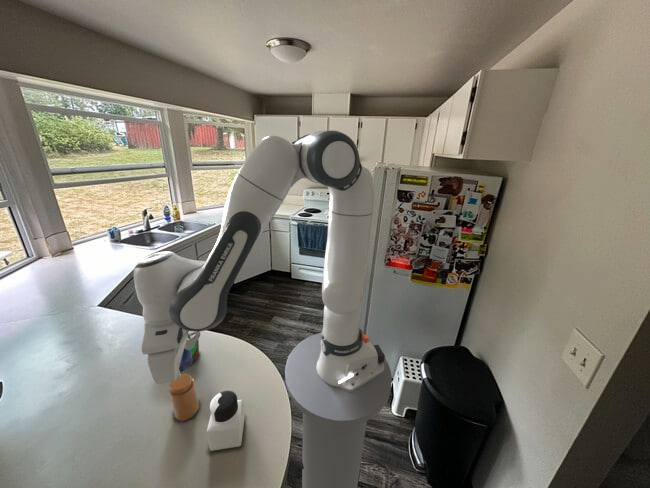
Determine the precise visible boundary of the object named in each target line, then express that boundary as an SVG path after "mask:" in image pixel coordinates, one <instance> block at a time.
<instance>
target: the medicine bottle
mask: <svg viewBox="0 0 650 488" xmlns="http://www.w3.org/2000/svg"><path fill="white" fill-rule="evenodd" d="M209 410H210V416H209V420H208V424H207V429H206V437H207V441H208V446H209V450H210V451H211V452H213V451H219V450H227V449H232V448H238V447H241V446H242V441H243V435H244V434H243V433H244V426H245V409H244V401H243V399H238V395H237V394H236V393H235V391H232V390H223V391H220V392H219V393H217V394H216V395H215V396H213V398H212V399H211V401H210V404H209Z"/></svg>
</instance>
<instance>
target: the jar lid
mask: <svg viewBox="0 0 650 488" xmlns="http://www.w3.org/2000/svg"><path fill="white" fill-rule="evenodd" d="M192 362H193V356H192V353H191V351H189V350H187V349H184V351H183V355H182V359H181V363H180V366H179V368H180V369H181V373H183V372H186V370H188V369H189V368H190V367H191V366H192V364H193V363H194V362H193V363H192Z"/></svg>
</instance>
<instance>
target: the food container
mask: <svg viewBox="0 0 650 488" xmlns="http://www.w3.org/2000/svg"><path fill="white" fill-rule="evenodd" d="M200 337H201V331H199V332H190V333H188V336H187V340H186V349H187V350H189V351H191V353H192V356H193V362H192V364H193V363H195V362H196V360H198V357H199V355H200V345H199V344H200V343H199V342H200V341H199V339H200Z"/></svg>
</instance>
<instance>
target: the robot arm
mask: <svg viewBox="0 0 650 488" xmlns="http://www.w3.org/2000/svg"><path fill="white" fill-rule="evenodd" d="M360 160H361V159H360V154H359V150H358V148H357V145H356V143H355V141H354V140H353V139H352V138H351V137H350V136H349V135H347V134H346V133H344V132H341V131H338V130H317V131H314V132H312V133H311V132H310V133H308V134H305V135H303V136H301V137H299V138H298V139H296V140H294V141H292V142H290V141H289V140H288V139H286V138H284V137H282V136H278V135H267V136H265V137H262V139H261V140H260V141H259V142H258V143H257V144H256V145H255V146H254V147H253V149H252V151H251V152H250V153H249V154H248V156H247V157H246V159H245V160H244V162H243V163H242V165H241V166H240V168H239V170H238V171H237V174H235V177H234V179H233V180H232V183H231V186H230V187H229V191H228V193H227V197H226V200H225V204H224V210H223V217H222V223H221V228H220V232H219V235H218V238H217V239H216V242H215V245H214V246H213V248H212V250H211V252H210V254H209V255H208V257H207V260H206V259H205V260H197V259H191V258H187V257H183V256H180V255H178V254H177V253H175V252H173V251H160V252H156V253H153V254H150V255H147V256H145V257H143V258H142V259H141V260H140V261H138V263H136V265H135V266H134V268H133V283H134V288H135V292H136V296H137V301H138V302H139V304H141V306H142V318H143V321H144V325H143V329H144V330H143V331H144V332H143V337H142V342H141V346H140V350H141V353H142V355H146V356H147V357H146V358H147V359H146V360H147V365H148V369H149V371H150V374H151V377H152V380H153V381H154V383H155V385H163V384H168V383H169V384H170V383H171V382H173V381H175V380H176V379H179V378H180V376H181V374H182V372H181V369H180V368H179V366H180V363H181V359H182V355H183V351H184V349H186V340H187V336H188V334H190V333H189V332H192V333H194V332H204V331H207V330H211V329H213V328H215V327H218V326H219V325H220V324H221V323H222V322H223V320H225V318H226V315H227V311H228V298H229V297H228V295H229V293H230V290H231V288H232V286H233V284H234V282H235V281H236V279H237V277H238V275H239V273H240V271H241V269H242V267H243V265H244V264H245V262H246V260H247V258H248V256H249V254H250V252H251V251H252V249H253V247H254V245H255V244H256V242H257V241H258V240H259V238H260V237H261V236H262V233H263V232H264V230H265V229H266V227H267V226H268V225H269V224H270V222H271V220H272V219H273V218H274V216H275V215H276V213H277V212H278V210H279V209H280V208H281V206H282V204H283V203H284V201H285V199H286V197H287V195H288V193H289V192H290V190H291V188H293V186H294V185H295V184H296V183H297V182H298V181H300V180H302V179H307V180H308V181H310V182H313V183H315V184H320V185H323V186H325V187H327V190H328V193H329V203H328V216H327V217H328V218H327V219H328V220H327V238H326V246H325V253H324V261H323V273H322V281H321V299H322V303H323V305H324V307H323V323H322V330H321V333H322V334H321V353H320V357H319V359H318V361H317V365H316V369H317V373H318V375H319V376H320V378H321V379H322V380H323V381H325V382H326V383H328V384H330V385H333V386H337V387H341V388H343V389H344V390H346V391H348V392H352V391H354V390H356V389H357V388H359V387H360V386H362V385H364V384H365V383H367V382H368V381H370V380H371V379H373V378H374V377H376V376H378V375H379V374H381V373H382V372H384V363H383V362H384V359H386V355H385V353H384V352H383V350H382V348H381V347H380V345H379V344H373V343H372V341H371V340H370V339H371V338H370V337H369V336H368V335H367V334H364V333H363V330H362V329H361V327H360V326H361V316H362V306H363V305H362V304H363V303H362V302H363V297H364V295H365V288H366V278H367V268H368V259H369V258H368V257H369V248H370V247H369V246H370V238H371V227H372V217H373V212H374V211H373V210H374V177H373V174H372V172H371V171H370V169H368V168H366V167H365V166H363V164H362V163H361V161H360ZM380 363H381V364H380ZM352 385H354V386H352Z"/></svg>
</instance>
